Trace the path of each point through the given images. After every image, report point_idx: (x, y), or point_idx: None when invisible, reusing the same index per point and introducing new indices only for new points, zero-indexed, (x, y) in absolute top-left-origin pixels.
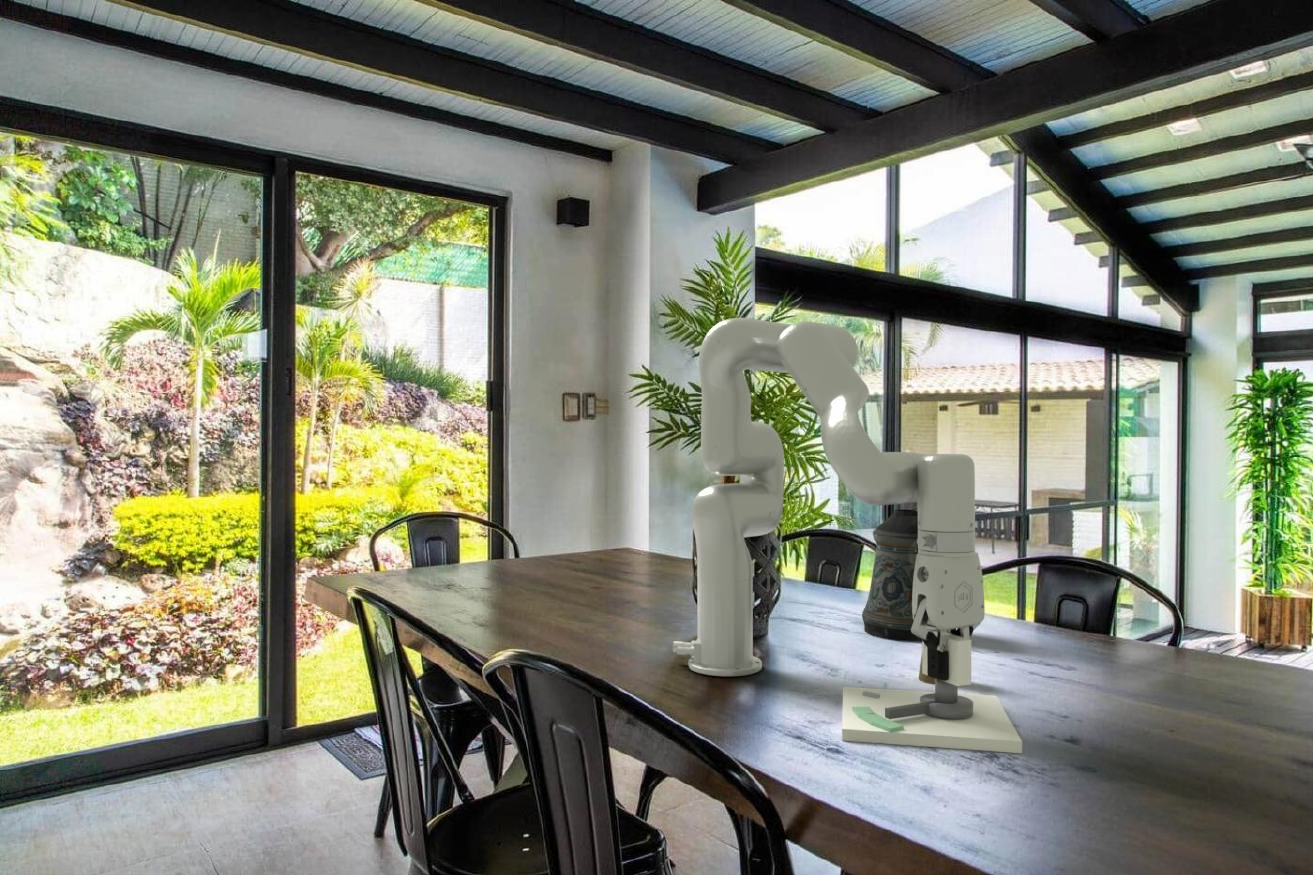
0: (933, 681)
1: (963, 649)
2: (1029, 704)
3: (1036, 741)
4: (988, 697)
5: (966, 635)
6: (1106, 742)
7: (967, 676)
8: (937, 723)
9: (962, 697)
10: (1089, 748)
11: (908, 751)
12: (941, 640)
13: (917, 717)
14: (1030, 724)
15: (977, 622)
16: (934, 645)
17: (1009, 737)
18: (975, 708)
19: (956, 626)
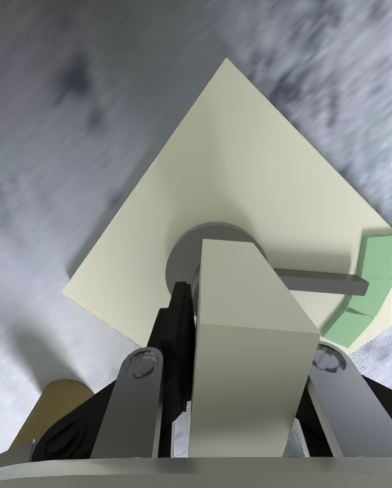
0: (88, 394)
1: (253, 296)
2: (11, 266)
3: (143, 112)
4: (80, 292)
5: (133, 400)
6: (15, 33)
7: (219, 246)
8: (281, 230)
9: (171, 276)
10: (75, 21)
11: (388, 187)
12: (360, 392)
13: None
14: (83, 190)
15: (24, 484)
16: (366, 381)
17: (229, 92)
18: (147, 260)
19: (388, 480)
